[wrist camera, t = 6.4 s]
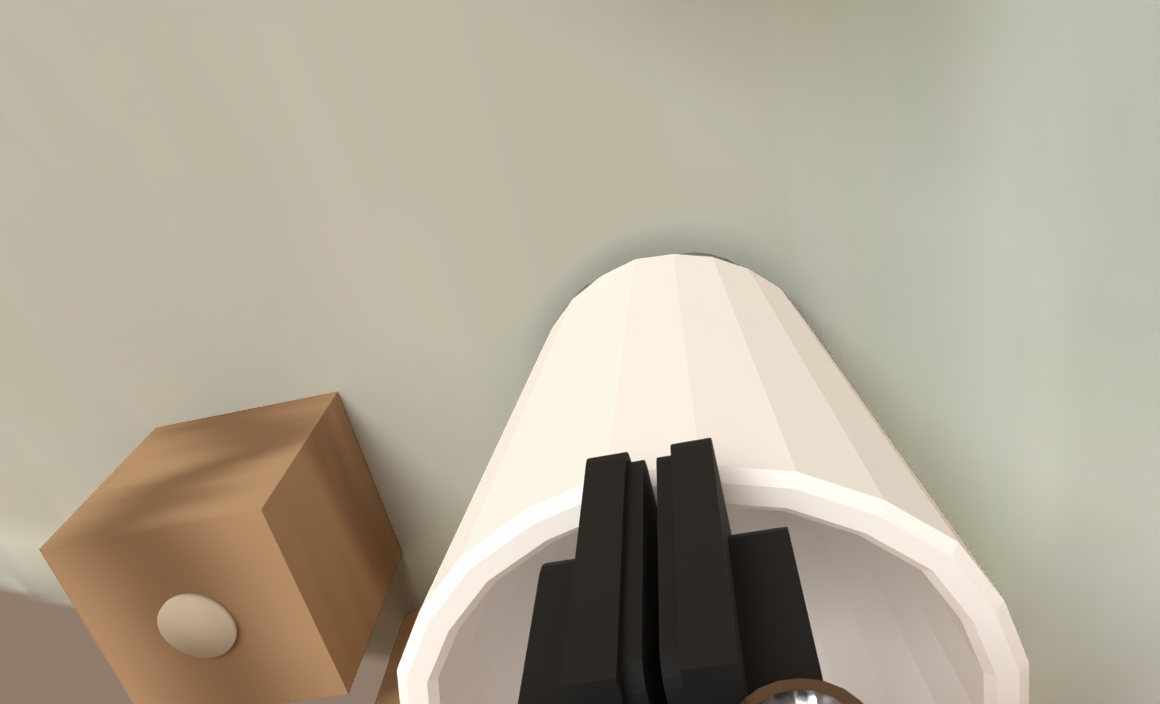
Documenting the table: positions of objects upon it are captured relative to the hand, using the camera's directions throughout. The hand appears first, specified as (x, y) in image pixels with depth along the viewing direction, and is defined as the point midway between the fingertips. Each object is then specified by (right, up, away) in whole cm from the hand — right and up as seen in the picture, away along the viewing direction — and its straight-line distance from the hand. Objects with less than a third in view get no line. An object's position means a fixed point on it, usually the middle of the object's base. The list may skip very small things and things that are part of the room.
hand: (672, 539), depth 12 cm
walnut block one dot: (-11, -2, +16) cm, 19 cm away
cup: (+2, +2, +14) cm, 14 cm away
